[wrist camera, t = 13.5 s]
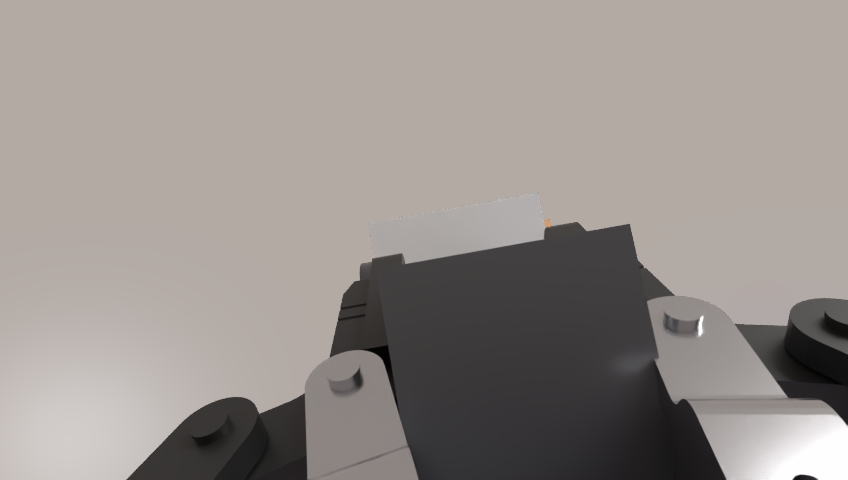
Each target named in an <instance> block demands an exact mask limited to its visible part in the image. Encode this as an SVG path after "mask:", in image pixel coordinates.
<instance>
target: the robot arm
mask: <svg viewBox="0 0 848 480" xmlns="http://www.w3.org/2000/svg"><path fill="white" fill-rule="evenodd" d="M582 232H587V231H586V230H585V229H584V228H583V227H582V226H581V225H580V224H579V223H578V222H574V223H569V224H563V225H557V226H552V227H546V228H545V231H544V239H548V238H554V237H559V236H565V235H571V234H576V233H582ZM402 264H405V260H404V256H403V254H402V253H400V254H394V255H388V256H383V257H377V258H373V259H372V266H371V274H370V279H366V280H361V281H355V282H354V283H353V284H352V285H351V286H350V287H349V289H348V290H347V291H346V292H345V293H344V295H343V299H342V303H341V310H340V312H339V317H338V322H337V326H336V331H335V335H334V340H333V344H332V349H331V354H330V358H328V359H327V360H325V361H323V362H322V363H321V364H320V365H318V366H317V367H316V368H315V369H314V370H313V371H312V373H311V374H310V375H309V377H308V380H307V381H306V384H305V393H304V394H303V395H301V396H299V397H298V398H296V399H294V400H292V401H290V402H287V403H285V404H283V405H280V406H278V407H275V408H273V409H271V410H268V411H265V412H263V413H261V414H259V412H258V410H257V408H256V406H255V404H254V403H253V402H252V401H250V400H248V399H246V398H242V397H231V398H225V399H221V400H218V401H215V402H213V403H210V404H208V405H206V406H204V407H202V408H200V409H199V410H197V411H196V412H194V413H193V414H191V415H190V416H189V417H188V418H187V419H185V420H184V421H183V422H182V423H181V424H180V425H179V426H178V427H177V428H176V429H175V430H174V431H173V432H172V433H171V434H170V435H169V436H168V438H166V440H165V441H164V442H163V443H162V444H161V445H160V446H159V447H158V448H157V449H156V450H155V451H154V452H153V453H152V454H151V455H150V456H149V457H148V458H147V459H146V460H145V461H144V462H143V464H141V465H140V466H139V467H138V469H136V470H135V472H134V473H133V474H132V475H131V476H130V477H129V478H128V479H127V480H419V479H418V476H417V472H416V469H415V465H414V462H413V459H412V455H411V452H410V449H409V446H408V444H407V441H406V437H405V434H404V430H403V427H402V424H401V420H400V414H399V408H398V402H397V396H396V390H395V384H394V378H393V372H392V366H391V360H390V354H389V347H388V341H387V335H386V329H385V323H384V317H383V311H382V305H381V299H380V293H379V287H378V281H377V275H376V269H380V268H386V267H391V266H397V265H402ZM638 264H639V268H640V273H641V277H642V282H643V286H644V291H645V295H646V300H647V304H648V309H649V313H650V318H651V322H652V327H653V331H654V336H655V340H656V345H657V349H658V354H659V358H656V359H654V363H655V372H656V381H657V390H658V399H659V402H660V405H661V407H662V410H663V412H664V415H665V418H666V420H667V423H668V426H669V429H670V432H671V436H672V441H673V446H674V455H675V465H674V477H673V480H848V300H842V299H830V298H822V299H821V298H820V299H811V300H806V301H802V302H800V303H798V304H796V305H795V306H793V308H792V309H791V311H790V315H789V320H788V325H787V326H773V325H770V326H769V325H744V324H734V323H733V322H732V320H731V319H730V317H729V316H728V315H727V314H726V313H725V312H724V311H723V310H721V309H720V308H718V307H716V306H715V305H712V304H710V303H708V302H705V301H703V300H699V299H695V298H690V297H683V296H675V295H674V294H672V292H670V291H669V290H668V289H667V288H666V287H665V286H664V285H663V284H662V283H661V282H660V281H659V280H658V279H657V278H656V277H655V276H653V274H652V273H651V272H649V271H648V270H647V269H646V268H644V267H643V265H642V264H641V263H640V262H639V261H638Z"/></svg>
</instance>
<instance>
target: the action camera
mask: <svg viewBox="0 0 848 480" xmlns="http://www.w3.org/2000/svg"><path fill="white" fill-rule="evenodd" d="M368 225H369V230H370V237H371V242H372V248H373V254H374V258H377V257H383V256H388V255H394V254H400V253H402V254H403V256H404V260H405V264H402V265H397V266H391V267H386V268H380V269H376V275H377V281H378V287H379V293H380V299H381V305H382V311H383V317H384V323H385V329H386V335H387V341H388V347H389V354H390V360H391V366H392V372H393V378H394V384H395V390H396V396H397V402H398V408H399V414H400V420H401V424H402V427H403V430H404V434H405V437H406V441H407V444H408V446H409V449H410V452H411V455H412V459H413V462H414V465H415V469H416V472H417V476H418V479H419V480H673V477H674V465H675V455H674V446H673V441H672V436H671V432H670V429H669V426H668V423H667V420H666V418H665V415H664V412H663V410H662V407H661V405H660V402H659V399H658V390H657V381H656V372H655V363H654V359H656V358H659V354H658V349H657V345H656V340H655V336H654V331H653V327H652V322H651V318H650V313H649V309H648V304H647V300H646V295H645V291H644V286H643V282H642V277H641V273H640V268H639V264H638V259H637V255H636V250H635V246H634V241H633V237H632V232H631V228H630V224H627V225H621V226H616V227H610V228H604V229H599V230H593V231H587V232H582V233H576V234H571V235H565V236H559V237H554V238H548V239H544V231H545V228H546V227H551V224H550V219H547V220H544V218H543V213H542V208H541V203H540V198H539V193H533V194H528V195H522V196H516V197H511V198H506V199H500V200H495V201H489V202H483V203H478V204H472V205H467V206H462V207H456V208H451V209H445V210H439V211H434V212H429V213H423V214H417V215H412V216H407V217H401V218H396V219H390V220H384V221H379V222H374V223H369V224H368ZM371 266H372V262H368V263H363V264H361V266H360V281H361V280H366V279H370V274H371Z"/></svg>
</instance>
